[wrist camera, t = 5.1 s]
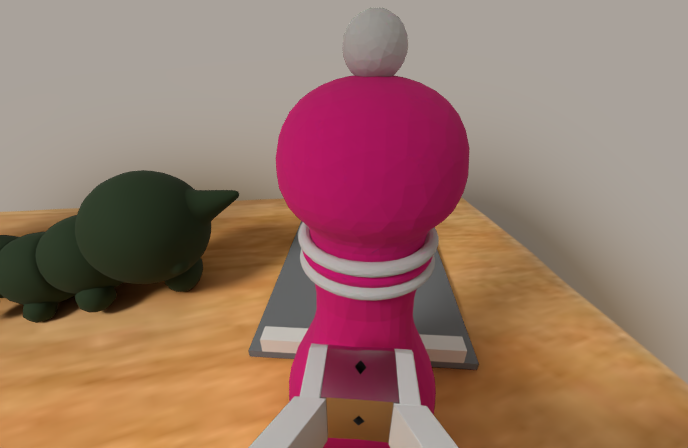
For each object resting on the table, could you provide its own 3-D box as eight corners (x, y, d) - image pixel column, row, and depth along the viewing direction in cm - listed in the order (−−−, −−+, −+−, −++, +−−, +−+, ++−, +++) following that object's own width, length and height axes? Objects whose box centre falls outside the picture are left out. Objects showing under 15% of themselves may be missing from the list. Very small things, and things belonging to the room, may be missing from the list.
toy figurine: (-79, 371, 23) (258, 303, 26) (-410, 104, 13) (178, 47, 17) (15, 289, 31) (262, 245, 34) (-151, 87, 22) (210, 51, 25)
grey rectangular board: (476, 369, 21) (478, 363, 21) (249, 356, 22) (248, 350, 22) (424, 220, 40) (425, 216, 40) (305, 216, 41) (304, 213, 41)
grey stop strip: (462, 368, 21) (467, 351, 20) (263, 357, 22) (260, 339, 21) (457, 354, 22) (462, 336, 21) (268, 343, 23) (265, 326, 22)
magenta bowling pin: (309, 370, 21) (279, 23, 11) (416, 379, 20) (479, 21, 11) (280, 504, 15) (157, -21, 5) (433, 524, 14) (625, -34, 4)
